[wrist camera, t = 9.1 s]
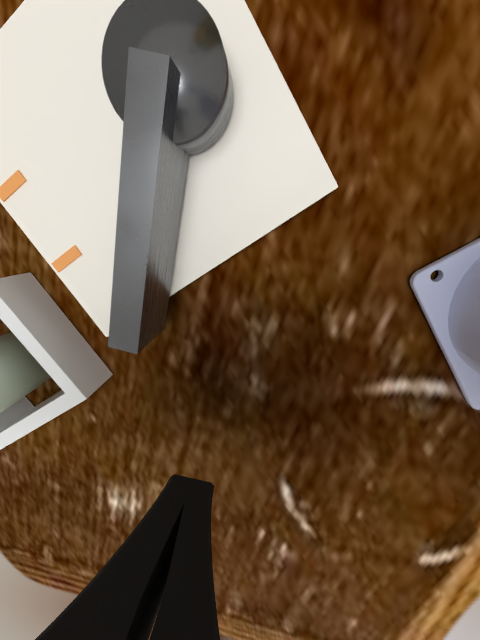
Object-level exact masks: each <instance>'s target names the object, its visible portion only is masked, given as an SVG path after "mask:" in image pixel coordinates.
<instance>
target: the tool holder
mask: <svg viewBox="0 0 480 640" xmlns="http://www.w3.org/2000/svg"><path fill="white" fill-rule="evenodd" d="M0 319H1V320H2V321H3V322H4V323H5V324H6V326H7V327H8V328H9V329H10V330H11V331H12V333H13V334H14V335H15V336H16V337H17V338H18V339H19V341H20V342H21V343H22V344H23V345H24V346H25V348H26V349H27V350H28V351H29V352H30V353H31V354H32V356H33V357H34V358H35V359H36V360H37V361H38V362H39V364H40V365H41V366H42V367H43V368H44V369H45V371H46V372H47V373H48V374H49V375H50V376H51V377H52V379H53V380H54V381H55V382H56V383H57V384H58V386H59V387H60V388H61V389H62V390H61V391H59V392H58V393H56V394H54V395H53V396H51V397H50V398H48V399H46V400H45V401H43V402H41V403H40V404H38V405H37V406H35V407H34V406H33V404H32V403H31V402H30V401H29V400H28V399H27V398H26V397H25V396H24V397H23V398H21V399H20V400H19V401H17V402H16V403H14V404H13V405H11V406H10V407H8V408H7V409H5V410H4V411H3V412H1V413H0V449H2V448H4V447H5V446H7V445H9V444H11V443H12V442H14V441H16V440H17V439H19V438H21V437H23V436H24V435H26V434H28V433H29V432H31V431H33V430H35V429H36V428H38V427H40V426H41V425H43V424H45V423H47V422H48V421H50V420H52V419H53V418H55V417H57V416H58V415H60V414H62V413H64V412H65V411H67V410H69V409H70V408H72V407H74V406H76V405H77V404H79V403H81V402H82V401H84V400H86V399H87V398H88V397H89V396H90V395H91V394H93V393H94V392H95V391H96V390H97V389H98V388H99V387H100V386H101V385H102V384H103V383H104V382H105V381H107V380H108V379H109V378H110V377H111V376H112V375H113V374H112V373H111V371H110V370H109V369H108V368H107V366H106V365H105V364H104V363H103V361H102V360H101V359H100V358H99V356H98V355H97V354H96V353H95V351H94V350H93V349H92V348H91V347H90V345H89V344H88V343H87V342H86V340H85V339H84V338H83V337H82V335H81V334H80V333H79V332H78V330H77V329H76V328H75V327H74V325H73V324H72V323H71V322H70V320H69V319H68V318H67V317H66V316H65V314H64V313H63V312H62V311H61V309H60V308H59V307H58V306H57V304H56V303H55V302H54V301H53V299H52V298H51V297H50V296H49V294H48V293H47V292H46V291H45V289H44V288H43V287H42V286H41V285H40V283H39V282H38V281H37V280H36V278H35V277H34V276H33V275H32V273H31V272H30V273H25V274H20V275H15V276H9V277H4V278H0Z"/></svg>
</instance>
